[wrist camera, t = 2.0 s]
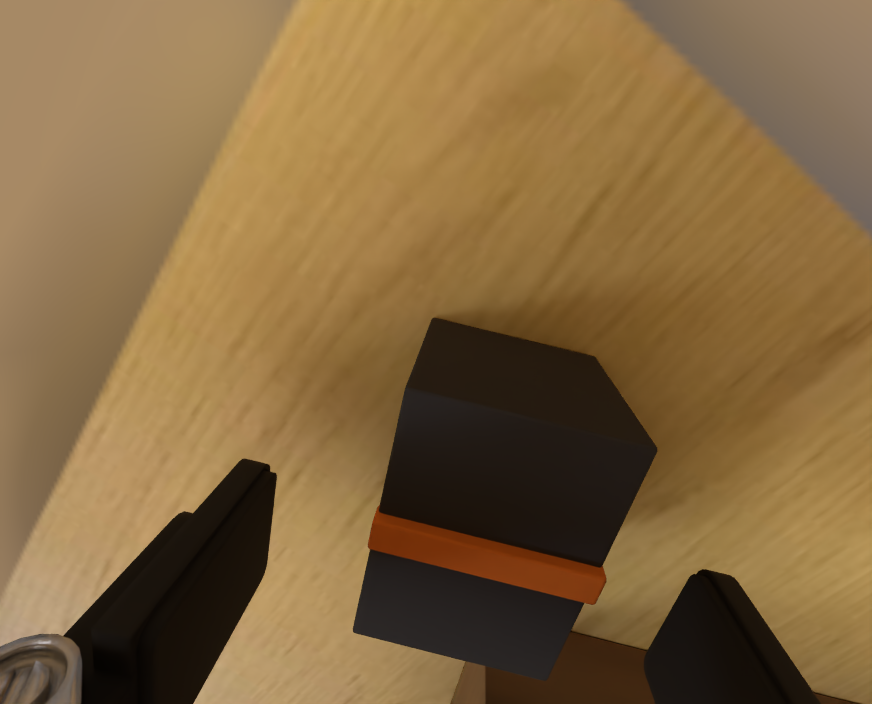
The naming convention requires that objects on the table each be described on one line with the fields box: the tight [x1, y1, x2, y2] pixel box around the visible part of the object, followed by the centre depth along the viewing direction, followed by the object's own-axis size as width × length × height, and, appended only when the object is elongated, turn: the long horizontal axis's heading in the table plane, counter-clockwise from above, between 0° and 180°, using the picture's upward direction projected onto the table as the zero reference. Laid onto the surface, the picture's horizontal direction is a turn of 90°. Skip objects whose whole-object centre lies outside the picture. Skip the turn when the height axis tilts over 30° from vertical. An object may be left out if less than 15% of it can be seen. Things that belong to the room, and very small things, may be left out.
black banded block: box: [353, 318, 657, 681], centre depth 12 cm, size 5×7×5 cm
